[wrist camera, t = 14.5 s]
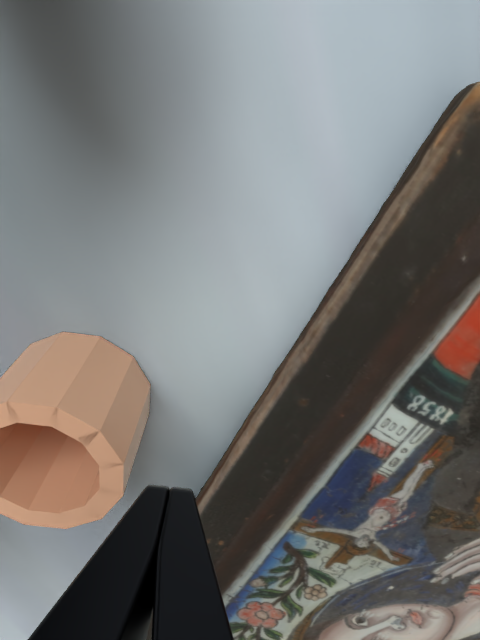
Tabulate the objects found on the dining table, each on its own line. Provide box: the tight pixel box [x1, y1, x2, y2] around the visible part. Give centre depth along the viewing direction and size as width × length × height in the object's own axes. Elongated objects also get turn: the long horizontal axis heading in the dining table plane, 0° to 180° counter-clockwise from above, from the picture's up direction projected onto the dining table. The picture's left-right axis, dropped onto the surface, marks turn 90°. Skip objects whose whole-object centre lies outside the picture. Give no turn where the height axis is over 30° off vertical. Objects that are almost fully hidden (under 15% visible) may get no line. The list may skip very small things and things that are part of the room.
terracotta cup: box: [0, 332, 151, 529], centre depth 20 cm, size 7×7×6 cm
